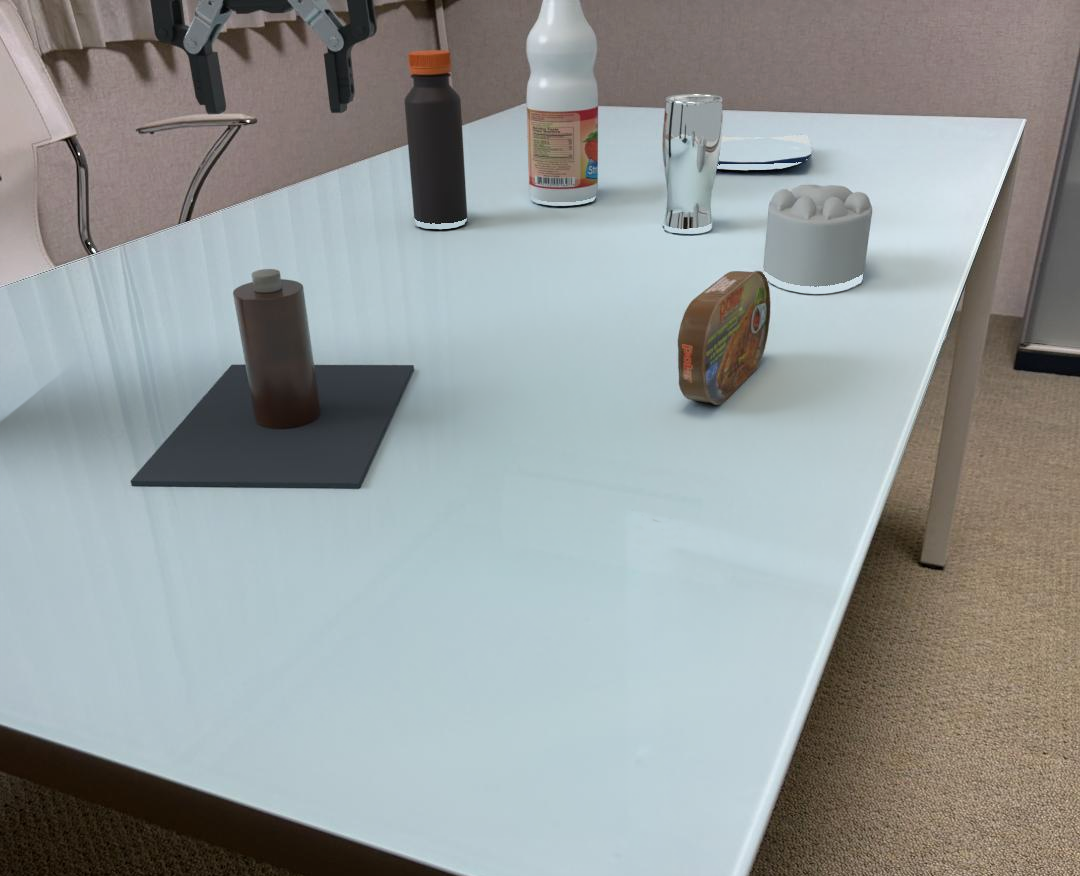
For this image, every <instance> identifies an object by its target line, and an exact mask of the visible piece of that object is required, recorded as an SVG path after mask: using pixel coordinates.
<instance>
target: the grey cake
mask: <svg viewBox="0 0 1080 876" xmlns="http://www.w3.org/2000/svg"><path fill="white" fill-rule="evenodd" d="M870 200H871V199H870V198H869V196H868V195H867V194H866V193H864V192H862V191H855V192H853V191H851V190H850V189H849V188H848V187H846V186H843V185H838V184H837V185H836V184H835V185H834V184H827V185H818V184H800V185H798V186H796V187H794V188H793V189H792V190H788V189H786V188H784V189H780V190H778V191H776V192H775V193H774V195H773V196H772V198H771V200H770V201H769V204H768V207H767V208H768V209H767V218H766V230H765V242H764V253H763V265H762V269H763V268H764V271H765V272H767V273H768V274H769V275H771V276H773V277H774V278H776V279H778V280H780V281H782V282H786V283H788V284H789V283H790V284H794V285H800V286H810V287H811V286H814V287H817V286H818V287H819V286H828V285H829V286H830V285H835V284H839V283H845V282H847V281H850V280H852V279H854V278H856V277H859V276H860V275H862V274H863V272H864V273H865V269H866V260H867V253H868V246H869V238H870V231H871V223H872V217H873V206H872V203H871V201H870Z"/></svg>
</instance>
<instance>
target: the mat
mask: <svg viewBox="0 0 1080 876" xmlns="http://www.w3.org/2000/svg"><path fill="white" fill-rule="evenodd" d="M314 367H315V374H316V382H317V389H318V396H319V403H320V410H321V414H320V416H319V417H318V418H317V419H316V420H315V421H313V422H311V423H309V424H306V425H303V426H300V427H295V428H289V429H271V428H266V427H263V426H260V425H259V424H257V422H256V421H255V417H254V411H253V405H252V399H251V394H250V388H249V382H248V377H247V371H246V365H245V364H231V365H230V366H229V367H228V368H227V369H226V370H225V371H224V373H222V375H221V377H219V379H218V380H216V382H215V383H214V384H213V385H212V387H210V389H209V390H208V391H207V392H206V393H205V394H204V395H203V397H202V398H201V399H200V400H199V401H198V402H197V404H196V405H195V406H194V407H193V408H192V410H191V411H190V412H189V413H188V414H187V415H186V416H185V418H184V419H182V421H181V422H180V423H179V424H178V425H177V427H176V428H175V429H174V430H173V431H172V432H171V434H170V435H169V436H168V437H167V438H166V439H165V440H164V442H163V443H162V444H161V445H160V446H159V447H158V448H157V449H156V450H155V452H154V453H153V454H152V455H151V456H150V457H149V459H148V460H147V461H146V462H145V463H144V465H143V466H142V467H141V468H140V469H139V470H138V471H137V472H136V473H135V475H134V476H133V477H132V478H131V479H130V485H131V486H132V487H133V486H137V487H139V486H140V487H141V486H142V487H143V486H145V487H146V486H147V487H221V488H222V487H231V488H233V487H234V488H235V487H236V488H240V487H243V488H317V489H319V488H320V489H321V488H323V489H325V488H328V489H329V488H330V489H333V488H334V489H336V488H337V489H360V488H361V486H362V484H363V482H364V479H365V477H366V475H367V473H368V471H369V468H370V466H371V464H372V462H373V459H374V457H375V455H376V453H377V451H378V450H379V446H380V444H381V442H382V441H383V438H384V435H386V434H385V433H386V431H387V429H388V427H389V426H390V422H391V421H392V418H393V416H394V414H395V412H396V409H397V408H398V405H399V403H400V400H401V399H402V396H403V395H404V392H405V389H406V387H407V385H408V383H409V381H410V379H411V376H412V374H413V372H414V370H415V365H414V364H314Z"/></svg>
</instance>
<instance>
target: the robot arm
mask: <svg viewBox="0 0 1080 876" xmlns="http://www.w3.org/2000/svg"><path fill="white" fill-rule="evenodd" d="M149 2H150V8H151V15H152V16H151V17H152V23H153V30H154V36H155V38H156V40H157V41H158V42H160V43H161V44H164V45H166V44H168V45H172V46H174V47H177V48H179V49H181V50H183V51H184V52H185V54H186V55H187V57H188V62H189V63H188V64H189V68H190V73H191V79H192V85H193V90H194V96H195V97H194V98H195V99H196V100H197V102H198V105H199V106H204V108H205V111H206V113H207V115H220V114H222V113H224V112H226V109H227V102H226V97H225V89H224V84H223V83H224V82H223V79H222V78H223V76H222V72H221V66H220V60H219V59H220V58H219V52H218V51H213V46H214V44H215V42H216V40H217V39H218V37H219V35H220V33H221V31H222V29H223V28H224V27H223V26H224V25H225V24H226V23H227V22H228V20H229V19H230V17H231V15H232V13H233V12H235V14H236V15H249V14H252V13H256V12H259V11H262V12H266V13H269V14H286V13H289V12H292V11H293V10H294V11H295V12H296V13H297V14H298V16H299V17H300V18H301V19H302V21H303V22H304V23H306V24H307V25H308V26H309V27H311V29H312V30H313V31H314V32H315V34H316V35H317V36H318V38H319V39H320V40H321V41H322V43H323V44H324V45H325V46H326V49H327V52H324V53H323V60H324V61H323V62H324V68H325V69H324V70H325V77H326V85H327V87H326V88H327V94H328V95H327V96H328V105H329V110H330V113H331V114H344V113H345V112H346V111H347V110H348V104H350V103H351V102H353V101H354V97H355V94H356V91H355V81H354V70H353V63H352V50H353V48H354V46H355V45H356V44H359V43H361V42H363V41H366V40H367V39H370V38H372V37H374V36H375V35H376V33H377V31H378V24H377V23H378V22H377V16H376V9H375V3H374V0H346V5H347V12H348V19H349V23H348V24H344V22H342V21H341V19H340V18H339V17H338V16H337V14H336V13H335V12H334V11H333V8H332V6H331V4H330V3H329V2H328V0H199V2H198V4H197V6H196V8H195V10H194V17H193V19H192V21H191V23H190V25H186V20H185V11H184V3H183V0H149Z"/></svg>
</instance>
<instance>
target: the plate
mask: <svg viewBox="0 0 1080 876" xmlns="http://www.w3.org/2000/svg"><path fill="white" fill-rule="evenodd" d="M752 138H753V139H759V138H761V139H763V138H764V139H765V138H771V139H777V140H784V141H785V140H786V141H794V142H798V143H803V144H806V145H809V146H811V147H812V148H813V146H812V143H811V141H810V138H809V136H808V134H794V135H784V136H783V135H782V136H772V137H765V136H764V137H761V136H759V137H757V136H756V137H755V136H754V137H753V136H751V137H747V136H746V137H745V136H724V135H722V142H725V141H729V140H730V141H731V140H744V139H752ZM811 153H813V151H812V152H810V153H809V154H807V155H803V156H798V157H793V158H788V159H780V160H771V161H765V162H758V161H721V160H719V162H718V164H719V165H720V164H774V163H796V162H797V163H798V162H804V161H805V160H806V159H808V158H809V157H810V156H811V157H812V155H811ZM811 157H810V158H811ZM810 158H809V159H810ZM809 159H808V160H809ZM805 162H806V161H805ZM805 162H804V163H805Z"/></svg>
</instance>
